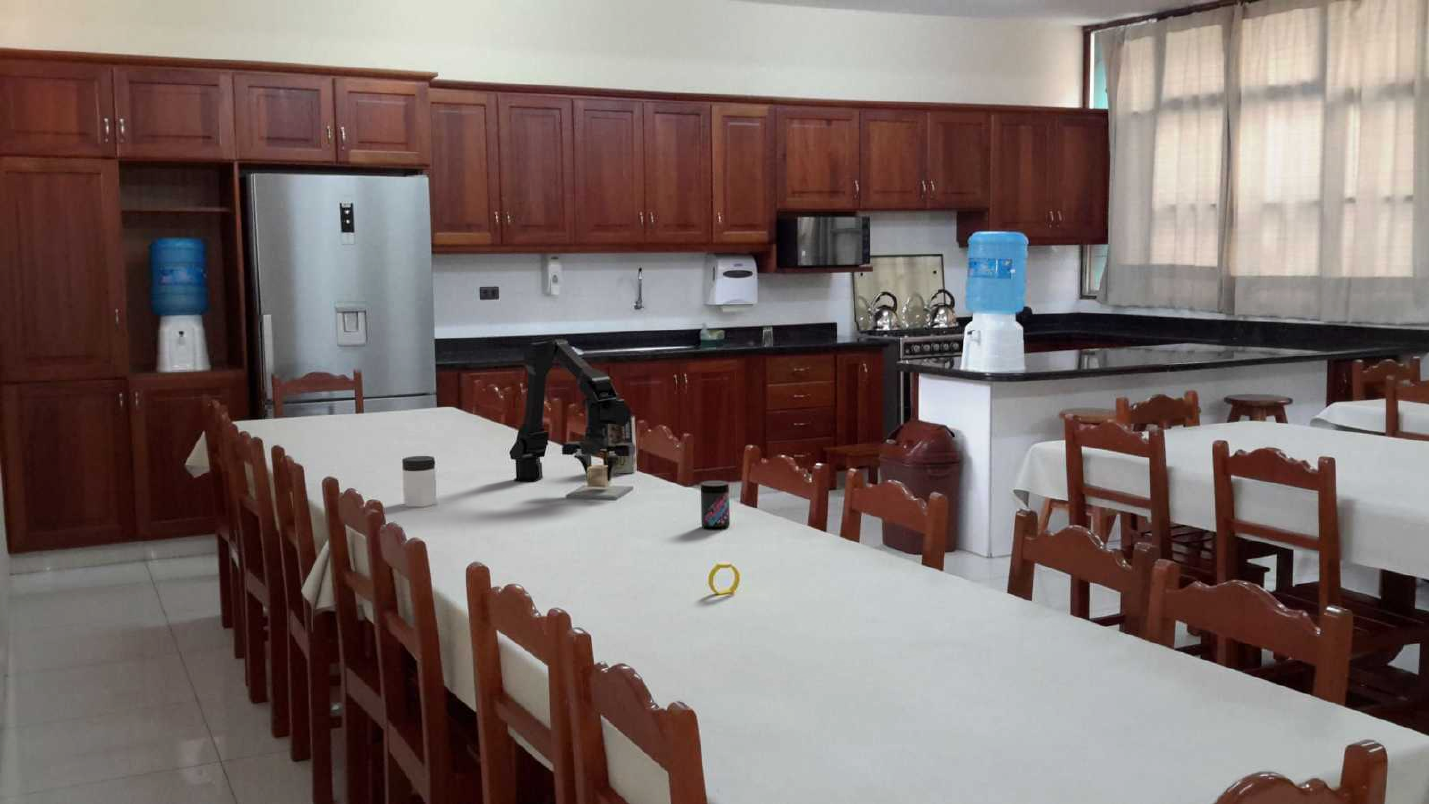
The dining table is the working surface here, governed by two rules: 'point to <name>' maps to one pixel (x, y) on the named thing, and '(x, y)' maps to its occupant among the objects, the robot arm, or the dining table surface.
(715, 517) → the supplement container
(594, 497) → the mat
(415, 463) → the jar
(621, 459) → the coffee box
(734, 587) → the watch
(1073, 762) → the dining table surface
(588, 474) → the maple cube
